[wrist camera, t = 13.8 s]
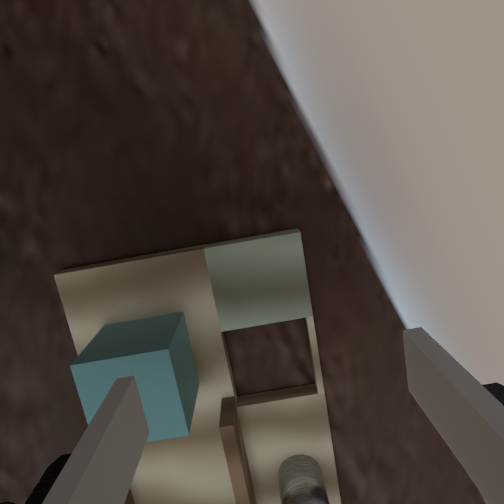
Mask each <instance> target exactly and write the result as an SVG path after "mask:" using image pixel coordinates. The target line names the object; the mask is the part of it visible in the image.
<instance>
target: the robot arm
mask: <svg viewBox="0 0 504 504" xmlns="http://www.w3.org/2000/svg"><path fill="white" fill-rule="evenodd" d="M403 340H404V350H405V360H406V370H407V380H408V390H409V391H410V393H411V394H412V396H413V397H414V398H415V400H416V401H417V403H418V404H419V406H420V407H421V408H422V410H423V411H424V413H425V414H426V415H427V417H428V418H429V420H430V421H431V422H432V424H433V425H434V427H435V428H436V430H437V431H438V432H439V434H440V435H441V437H442V438H443V439H444V441H445V442H446V444H447V445H448V446H449V448H450V449H451V451H452V452H453V454H454V455H455V456H456V458H457V459H458V461H459V462H460V463H461V465H462V466H463V468H464V469H465V470H466V472H467V473H468V475H469V476H470V477H471V479H472V480H473V482H474V483H475V485H476V486H477V487H478V489H479V490H480V492H481V493H482V494H483V496H484V497H485V499H486V500H487V501H488V503H489V504H504V386H503V385H501V384H498V383H492V384H486V385H481V384H480V383H479V382H478V381H477V380H476V379H475V378H474V377H473V376H472V375H471V374H470V373H469V372H468V371H467V370H465V368H463V367H462V366H461V365H460V364H459V363H458V362H457V361H456V360H455V359H454V358H453V357H452V356H451V355H450V354H449V353H448V352H447V351H446V350H444V349H443V348H442V347H441V346H440V345H439V344H438V343H437V342H436V341H435V340H434V339H433V338H432V337H431V336H430V335H429V334H428V333H427V332H426V331H425V330H423V329H422V328H421V327H420V328H414V329H408V330H403ZM149 433H150V432H149V428H148V425H147V421H146V417H145V413H144V410H143V406H142V402H141V398H140V395H139V391H138V387H137V383H136V380H135V376H128V377H123V378H117V379H116V380H115V382H114V384H113V385H112V387H111V389H110V390H109V392H108V394H107V395H106V397H105V399H104V400H103V402H102V404H101V405H100V407H99V409H98V410H97V412H96V414H95V415H94V417H93V419H92V420H91V422H90V424H89V425H88V427H87V429H86V431H85V432H84V434H83V436H82V437H81V439H80V441H79V442H78V444H77V446H76V447H75V449H74V451H73V452H72V454H65V455H61V456H60V457H59V458H58V459H57V460H55V461H54V462H53V463H52V464H51V465H50V466H49V467H48V468H47V470H46V471H45V473H44V474H43V476H42V477H41V479H40V482H39V483H38V484H37V485H36V487H35V488H34V490H33V493H32V494H30V496H29V498H28V499H27V501H26V502H25V504H124V503H125V500H126V497H127V495H128V492H129V489H130V486H131V483H132V481H133V478H134V475H135V472H136V469H137V467H138V464H139V461H140V458H141V455H142V452H143V450H144V447H145V444H146V441H147V438H148V436H149ZM0 504H15V503H12V502H3V503H0Z"/></svg>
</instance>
